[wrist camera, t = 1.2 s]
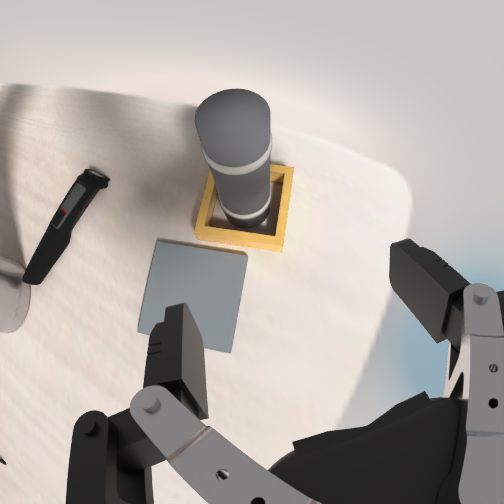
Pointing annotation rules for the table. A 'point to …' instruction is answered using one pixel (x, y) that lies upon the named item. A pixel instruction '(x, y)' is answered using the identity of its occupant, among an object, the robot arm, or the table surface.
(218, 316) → the slate mat
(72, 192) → the electric trimmer
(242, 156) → the dark grey banded cylinder
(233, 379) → the table surface
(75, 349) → the table surface
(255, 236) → the yellow square frame
